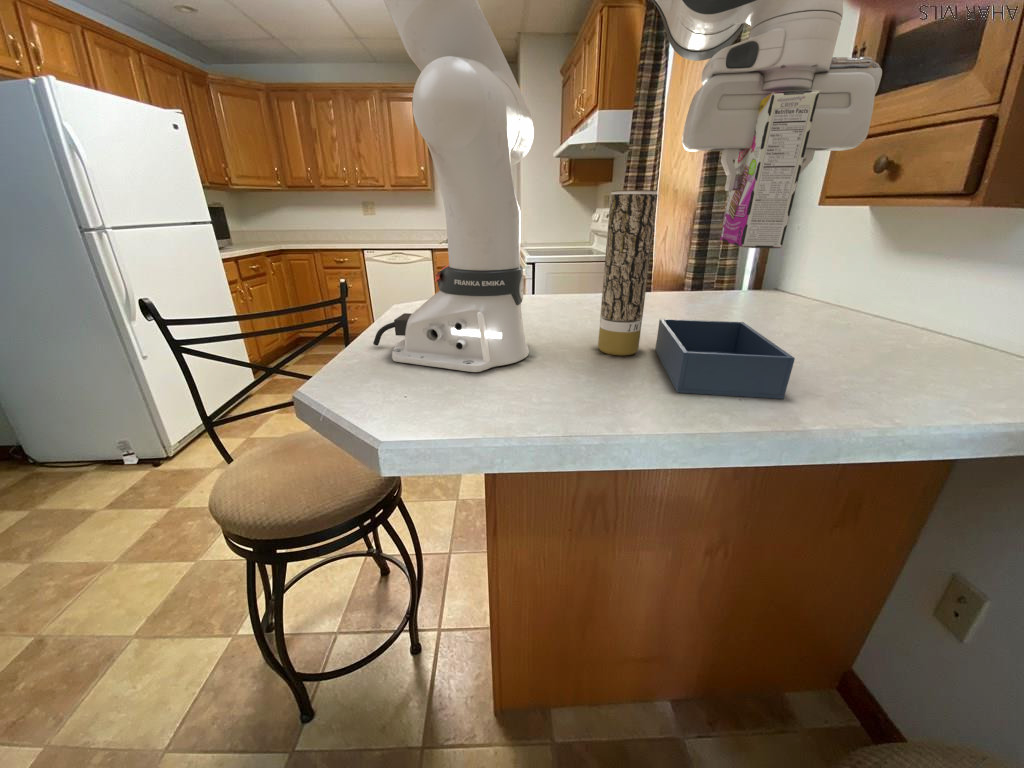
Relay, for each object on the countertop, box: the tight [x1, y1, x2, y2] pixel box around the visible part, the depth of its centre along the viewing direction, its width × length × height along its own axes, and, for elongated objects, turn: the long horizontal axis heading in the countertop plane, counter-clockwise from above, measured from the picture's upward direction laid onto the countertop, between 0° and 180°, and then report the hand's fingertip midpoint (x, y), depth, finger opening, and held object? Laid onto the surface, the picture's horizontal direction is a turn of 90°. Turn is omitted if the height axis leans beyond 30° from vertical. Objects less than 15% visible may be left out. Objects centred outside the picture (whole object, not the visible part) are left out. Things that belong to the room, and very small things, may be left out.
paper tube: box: [597, 189, 659, 356], centre depth 68 cm, size 7×7×25 cm
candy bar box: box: [719, 90, 820, 249], centre depth 53 cm, size 11×5×16 cm, turn 169°
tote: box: [654, 318, 796, 400], centre depth 62 cm, size 13×18×6 cm
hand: (758, 190), depth 54 cm, fingers closed on candy bar box, 5 cm apart
